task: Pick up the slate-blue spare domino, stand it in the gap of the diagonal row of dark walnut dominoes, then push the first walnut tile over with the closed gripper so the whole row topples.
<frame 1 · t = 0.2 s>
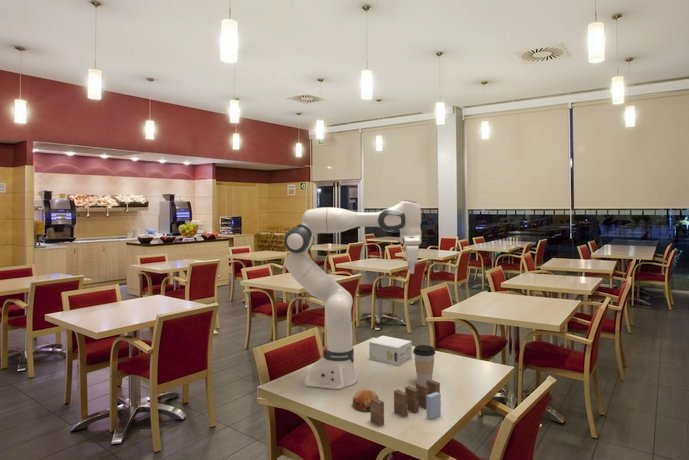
hand: (411, 271, 189), 48 cm above the table, fingers open, 8 cm apart
domino 5: (422, 405, 169), on the table
supplement box: (390, 359, 221), on the table
bread roll: (365, 406, 169), on the table
domino 3: (400, 413, 162), on the table
coffee cup: (424, 382, 191), on the table
domino 4: (411, 409, 165), on the table
domino 1: (377, 422, 156), on the table
spare domino: (433, 416, 160), on the table
domino 6: (433, 402, 172), on the table
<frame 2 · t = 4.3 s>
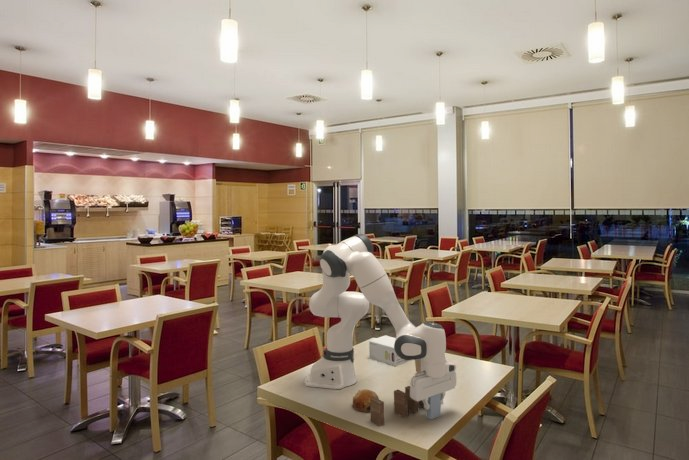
hand: (433, 406, 160), 4 cm above the table, fingers closed on spare domino, 5 cm apart
spare domino: (433, 416, 160), on the table, touching gripper
when the fingers open (4 cm above the table, at t = 9.3 s): spare domino stays where it is, on the table.
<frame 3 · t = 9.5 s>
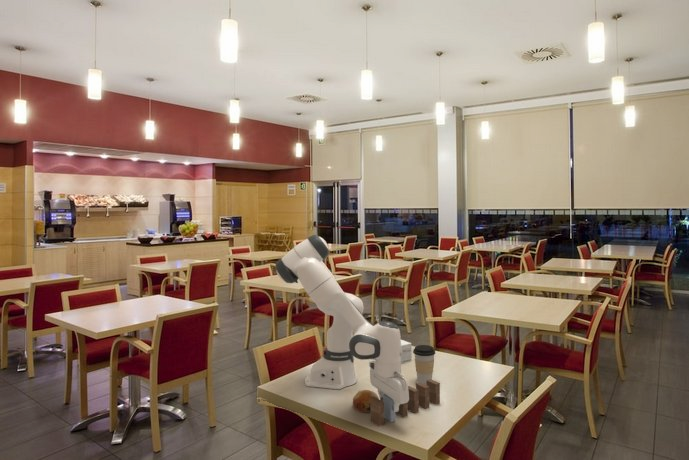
hand: (389, 406, 159), 4 cm above the table, fingers open, 7 cm apart
spare domino: (389, 418, 159), on the table
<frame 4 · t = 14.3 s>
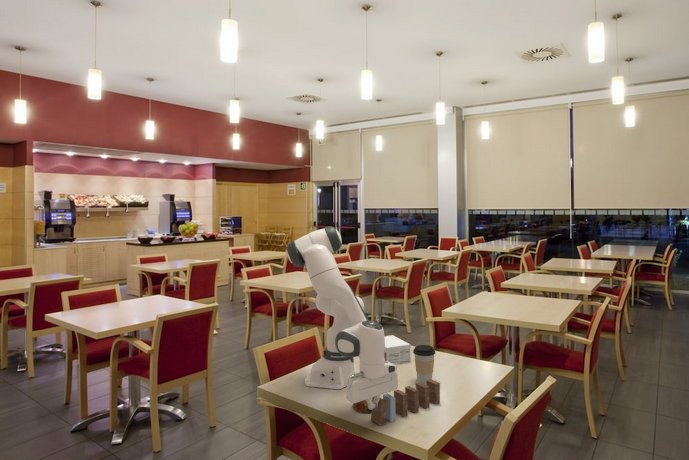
hand: (373, 408, 155), 6 cm above the table, fingers closed
domino 1: (377, 422, 156), on the table, tilted 9°
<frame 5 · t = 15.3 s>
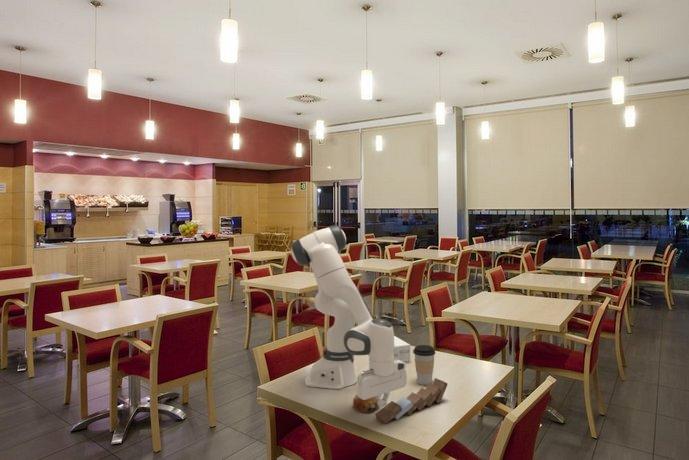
hand: (382, 405, 157), 6 cm above the table, fingers closed
domino 5: (423, 403, 169), point 1 cm above the table, tilted 52°
domino 3: (403, 410, 163), point 1 cm above the table, tilted 65°, touching domino 4
domino 4: (414, 406, 166), point 1 cm above the table, tilted 60°, touching domino 3
domino 1: (380, 419, 157), point 1 cm above the table, tilted 68°, touching spare domino
spare domino: (391, 414, 160), point 1 cm above the table, tilted 67°, touching domino 1
domino 6: (433, 400, 172), point 1 cm above the table, tilted 34°
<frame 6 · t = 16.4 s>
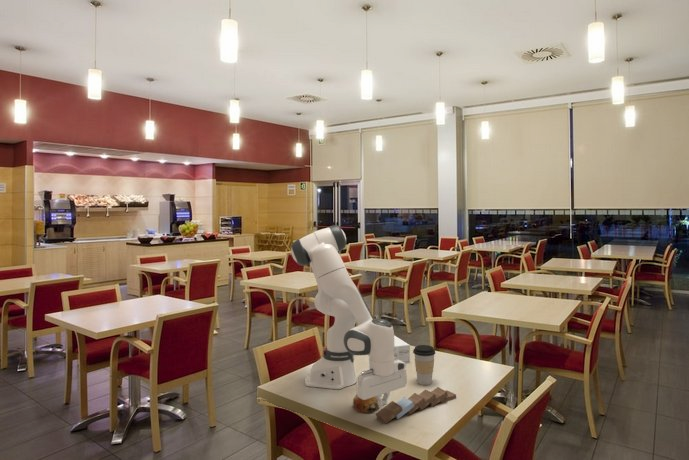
hand: (382, 405, 157), 6 cm above the table, fingers closed
domino 5: (427, 401, 170), point 1 cm above the table, tilted 73°, touching domino 4, domino 6
domino 3: (404, 410, 163), point 1 cm above the table, tilted 69°, touching domino 4, spare domino
domino 4: (415, 406, 167), point 1 cm above the table, tilted 69°, touching domino 3, domino 5
domino 1: (380, 418, 157), point 1 cm above the table, tilted 69°, touching spare domino
spare domino: (392, 414, 160), point 1 cm above the table, tilted 69°, touching domino 1, domino 3
domino 6: (436, 399, 173), on the table, tilted 90°, touching domino 5
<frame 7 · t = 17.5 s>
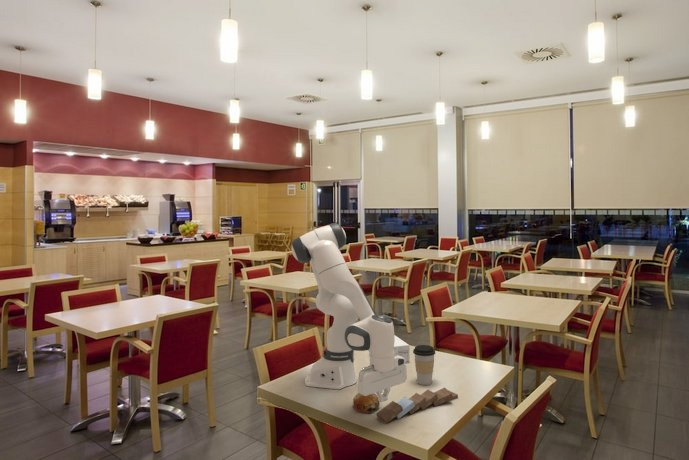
hand: (383, 400, 157), 7 cm above the table, fingers closed
domino 5: (431, 401, 170), point 1 cm above the table, tilted 74°, touching domino 4
domino 6: (438, 399, 173), on the table, tilted 90°
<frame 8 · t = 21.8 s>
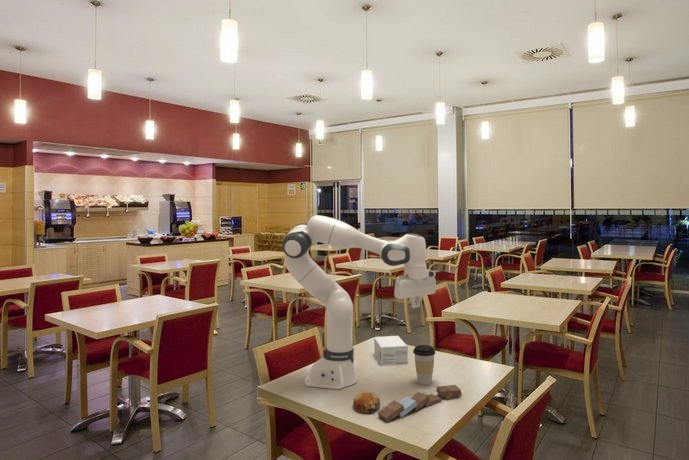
hand: (415, 307, 182), 34 cm above the table, fingers closed
domino 5: (438, 391, 176), point 2 cm above the table, tilted 90°, touching domino 6
domino 3: (410, 407, 165), point 1 cm above the table, tilted 77°
domino 4: (421, 403, 169), on the table, tilted 90°
spare domino: (395, 412, 161), point 1 cm above the table, tilted 72°, touching domino 1
domino 6: (442, 397, 175), on the table, tilted 90°, touching domino 5
at the end: domino 6 tilted 90°; spare domino tilted 72°; spare domino inside the target area (2.8 cm from its centre), point 0.9 cm above the table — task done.
